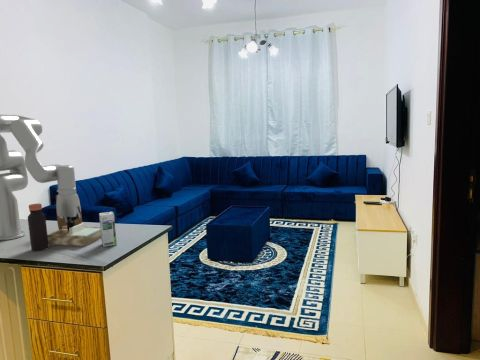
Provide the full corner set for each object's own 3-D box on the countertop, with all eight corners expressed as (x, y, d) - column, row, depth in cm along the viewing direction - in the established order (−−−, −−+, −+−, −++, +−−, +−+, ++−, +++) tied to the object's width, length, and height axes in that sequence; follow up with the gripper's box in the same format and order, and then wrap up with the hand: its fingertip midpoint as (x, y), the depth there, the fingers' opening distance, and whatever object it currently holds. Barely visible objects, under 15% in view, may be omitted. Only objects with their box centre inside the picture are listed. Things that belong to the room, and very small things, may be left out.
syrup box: (103, 247, 163) (100, 215, 161) (101, 243, 168) (98, 212, 166) (116, 245, 166) (114, 213, 164) (114, 241, 171) (112, 210, 169)
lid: (65, 236, 169) (64, 229, 168) (81, 229, 180) (81, 222, 179) (86, 237, 166) (85, 229, 166) (102, 230, 177) (101, 223, 177)
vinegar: (31, 252, 160) (26, 207, 157) (31, 248, 165) (26, 204, 163) (49, 249, 163) (44, 204, 160) (48, 245, 169) (43, 202, 166)
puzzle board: (41, 244, 170) (40, 234, 170) (64, 234, 185) (63, 225, 184) (83, 246, 165) (82, 236, 165) (103, 236, 180) (102, 227, 179)
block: (64, 234, 186) (60, 195, 183) (57, 232, 191) (52, 193, 188) (84, 229, 194) (80, 191, 191) (77, 227, 199) (73, 190, 196)
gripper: (47, 193, 170) (52, 232, 173) (76, 193, 166) (80, 233, 169) (59, 190, 177) (63, 227, 180) (86, 190, 174) (90, 228, 176)
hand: (71, 230), depth 174 cm, fingers closed
